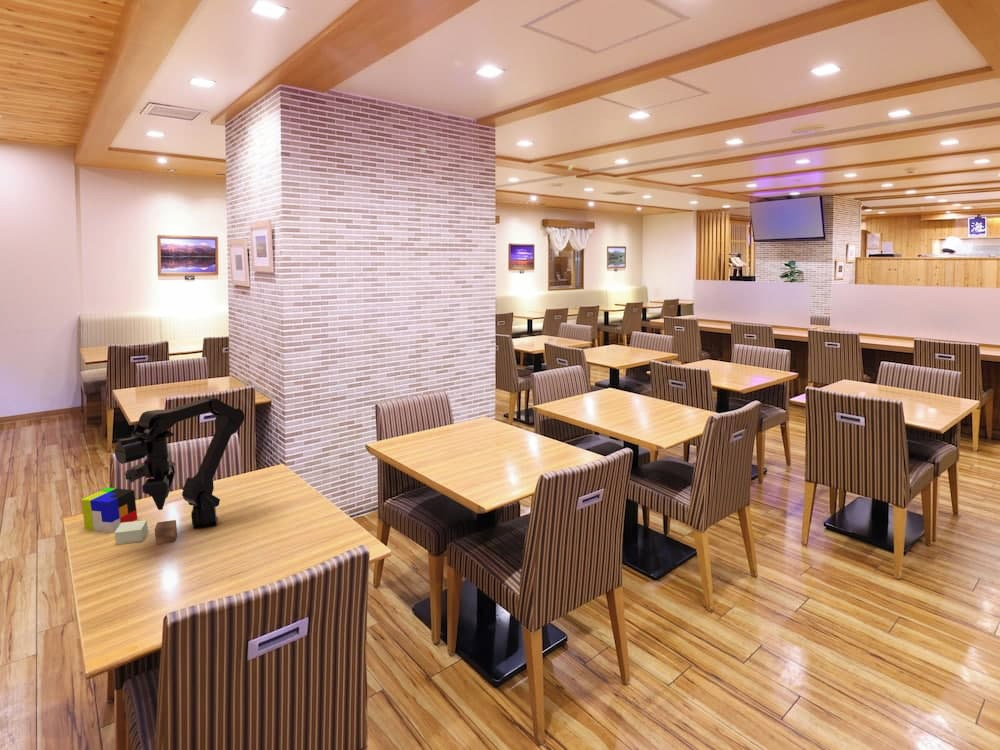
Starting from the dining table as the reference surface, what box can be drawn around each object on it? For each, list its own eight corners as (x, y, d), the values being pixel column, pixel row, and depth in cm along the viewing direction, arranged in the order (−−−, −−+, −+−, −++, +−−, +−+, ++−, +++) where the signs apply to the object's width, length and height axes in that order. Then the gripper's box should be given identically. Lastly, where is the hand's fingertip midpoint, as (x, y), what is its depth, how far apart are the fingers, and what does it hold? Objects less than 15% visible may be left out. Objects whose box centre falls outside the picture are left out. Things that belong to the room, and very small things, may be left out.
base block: (148, 531, 189) (146, 520, 189) (142, 542, 183) (141, 529, 182) (122, 534, 187) (121, 522, 187) (116, 545, 181) (114, 532, 180)
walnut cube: (177, 535, 187) (175, 519, 186) (175, 542, 183) (173, 526, 182) (159, 537, 185) (157, 522, 184) (156, 544, 181) (154, 529, 180)
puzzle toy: (112, 532, 188) (108, 502, 186) (85, 529, 190) (81, 499, 188) (137, 519, 198) (134, 490, 196) (111, 516, 200) (107, 487, 198)
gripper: (132, 447, 184) (138, 495, 188) (118, 467, 167) (125, 520, 170) (173, 443, 188) (178, 490, 191) (164, 462, 171) (169, 514, 174)
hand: (163, 503), depth 182 cm, fingers open, 9 cm apart
